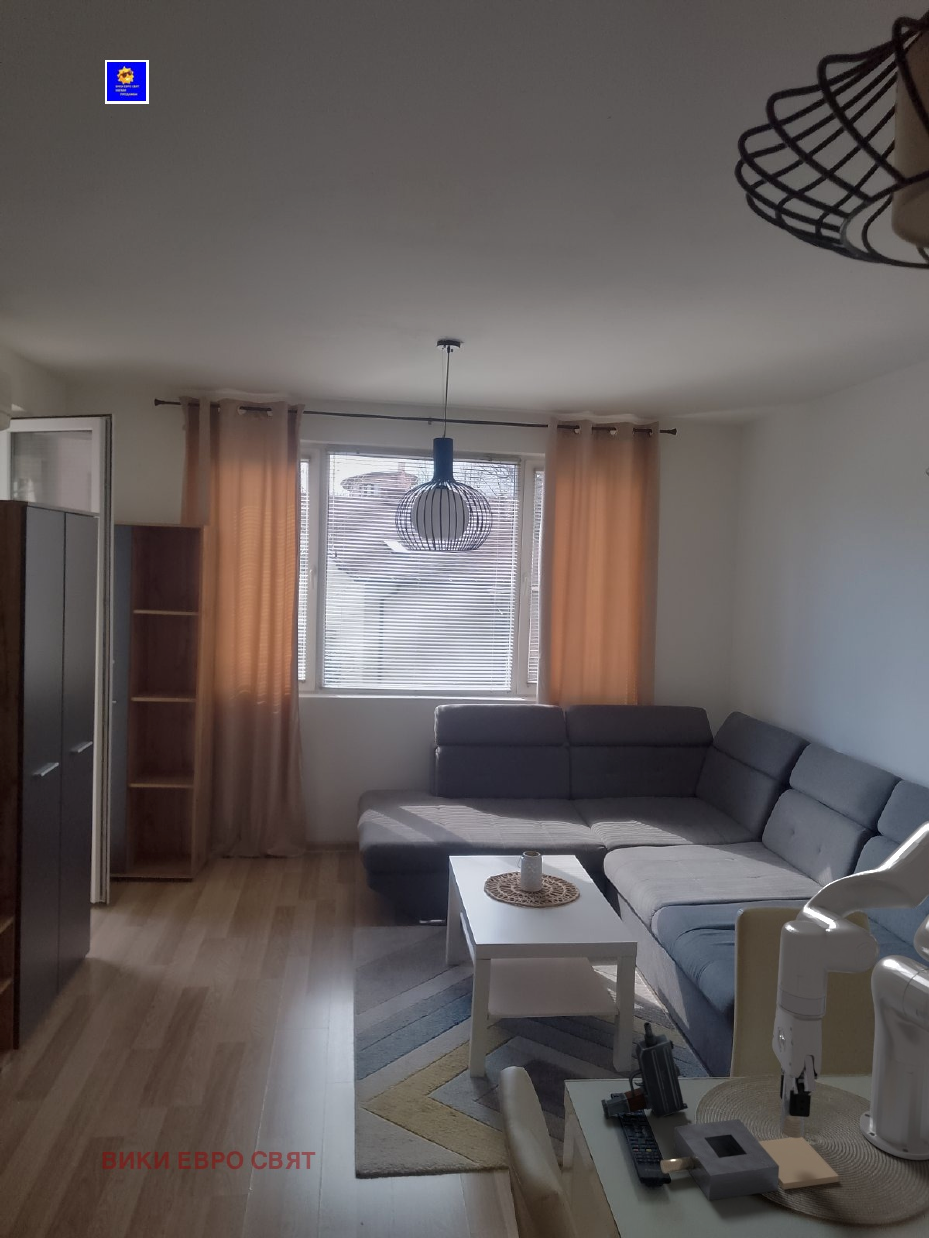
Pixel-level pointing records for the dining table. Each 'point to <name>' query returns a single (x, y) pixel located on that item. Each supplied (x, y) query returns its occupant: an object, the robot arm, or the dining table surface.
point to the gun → (651, 1080)
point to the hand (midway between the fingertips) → (794, 1105)
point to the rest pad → (798, 1163)
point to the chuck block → (723, 1159)
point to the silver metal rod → (788, 1123)
